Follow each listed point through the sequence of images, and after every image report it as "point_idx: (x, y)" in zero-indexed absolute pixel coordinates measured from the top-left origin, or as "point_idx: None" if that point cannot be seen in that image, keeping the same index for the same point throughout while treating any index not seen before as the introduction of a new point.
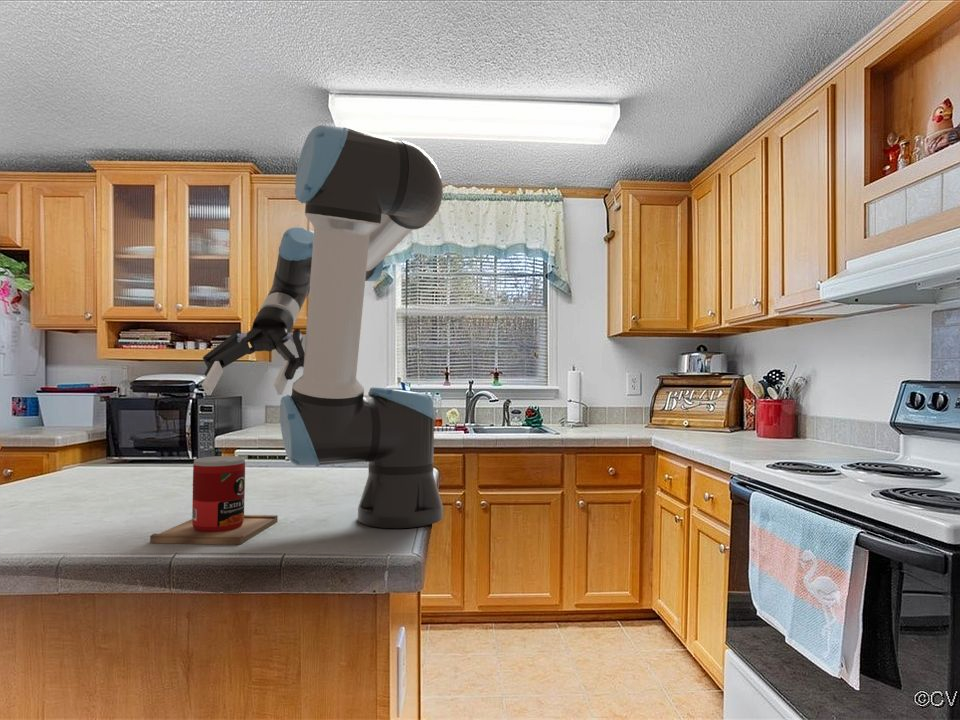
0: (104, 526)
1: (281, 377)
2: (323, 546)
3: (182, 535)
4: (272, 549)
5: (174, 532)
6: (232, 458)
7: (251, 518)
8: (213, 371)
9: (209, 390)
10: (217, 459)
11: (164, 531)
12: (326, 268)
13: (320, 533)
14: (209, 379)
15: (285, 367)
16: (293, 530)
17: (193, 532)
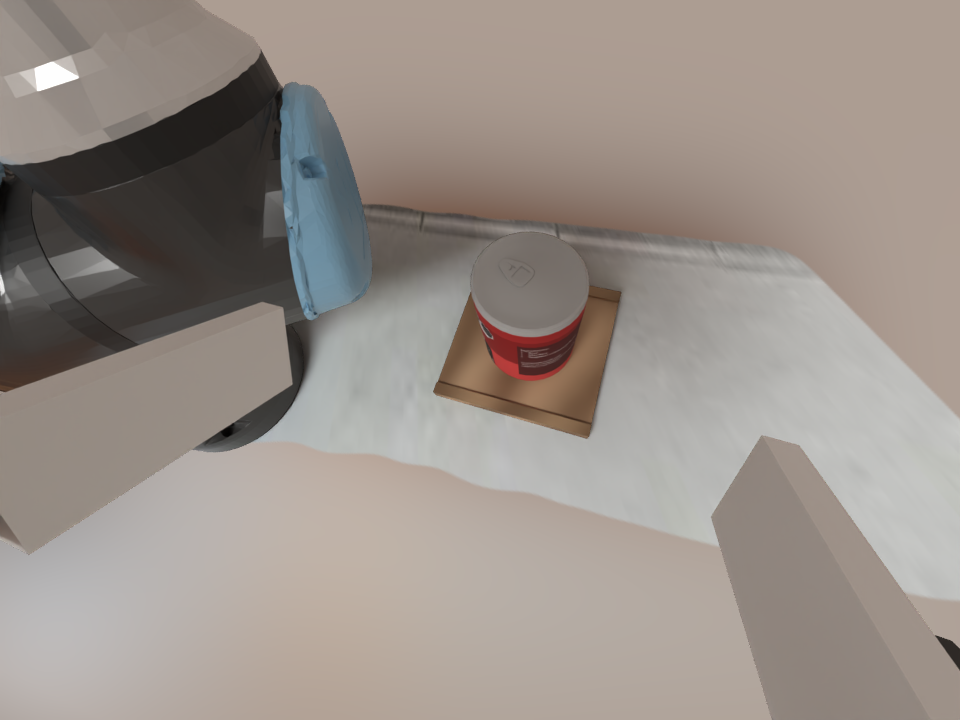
0: (769, 426)
1: (201, 328)
2: (373, 249)
3: None
4: (436, 246)
5: (592, 316)
6: (504, 313)
7: (480, 391)
8: (851, 602)
9: (730, 499)
10: (541, 313)
11: (612, 325)
12: None
13: (370, 309)
14: (785, 496)
15: (71, 376)
16: (409, 333)
17: None
